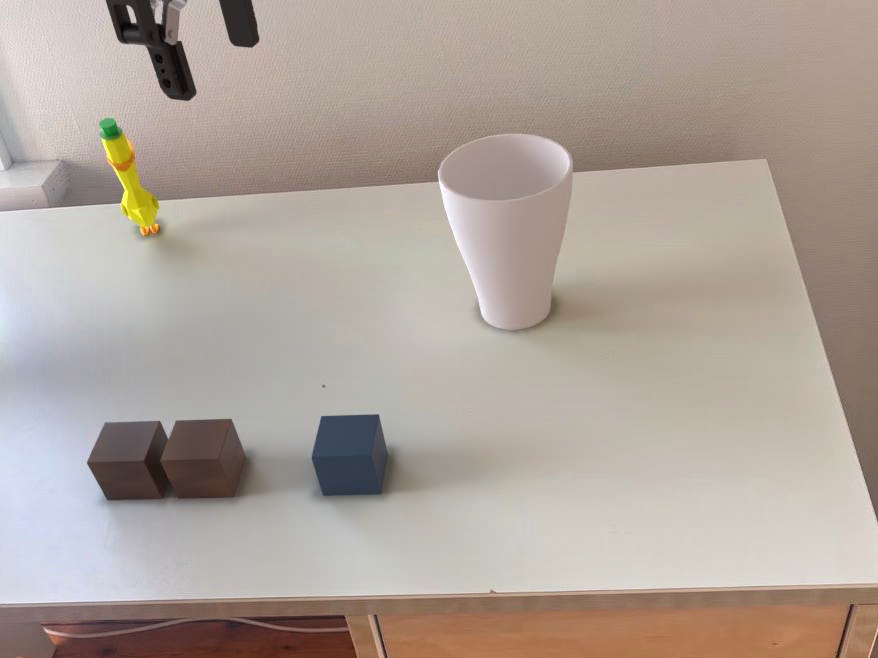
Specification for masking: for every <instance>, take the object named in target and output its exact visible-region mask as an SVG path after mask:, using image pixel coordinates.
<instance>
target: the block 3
mask: <svg viewBox="0 0 878 658" xmlns="http://www.w3.org/2000/svg"><path fill="white" fill-rule="evenodd" d="M388 455H389V453H388V448H387V443H386V439H385V435H384V430H383V426H382V422H381V418H380V414H379V413H375V414H373V413H371V414H342V415H341V414H340V415H321V416H320V418H319V423H318V426H317V431H316V434H315V440H314V443H313V447H312V451H311V456H310V459H311V462H312V466H313V468H314V471H315V474H316V478H317V481H318V485H319V487H320V491H321V494H322V496H323V497H325V496H326V497H328V496H333V497H334V496H375V495H377V496H378V495H379V496H380V495H381V494H382V491H383V484H384V478H385V473H386V468H387V467H386V466H387V460H388Z"/></svg>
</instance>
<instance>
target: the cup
mask: <svg viewBox="0 0 878 658" xmlns="http://www.w3.org/2000/svg"><path fill="white" fill-rule="evenodd" d="M572 157H573V156H572V154H571V153H570V152H569V150H567V149H566V148H565V146H564V145H563V144H561V143H558V142H557V141H555V140H554V139H550V138H547V137H544V136H541V135H535V134H529V133H528V134H527V133H502V134H494V135H489V136H485V137H481V138H476V139H473V140H472V141H470V142H467V143H464V144H462V145H460V146H459V147H457V148H455V149H454V150H452V151H451V152H449V154H448V155H447V156H445V158H443V160H442V161H441V163H440V166H439V168H438V171H437V177H438V183H439V188H440V192H441V198H442V202H443V207H444V211H445V214H446V216H447V219H448V222H449V226H450V228H451V231H452V234H453V237H454V241H455V243H456V245H457V248H458V250H459V253H460V254H461V257H462V259H463V261H464V263H465V265H466V268H467V270H468V271H467V272H469V276H470V279H471V281H472V284H473V287H474V289H475V292H476V295H477V301H478V304H479V305H478V306H479V310H480V314H481V316H482V318H483V320H484V321H485V322H486V323H488V325H490V326H493V327H495V328H497V329H501V330H507V331H511V330H512V331H515V330H516V331H517V330H524V329H528V328H531V327H534V326H536V325H538V324H540V323H542V322H543V321H544V320H545V319H546V318H547V316H548V315H549V314H550V312H551V311H550V310H551V307H552V294H553V283H554V279H555V278H554V277H555V272H556V267H557V262H558V258H559V254H560V252H561V247H562V244H563V239H564V236H565V231H566V228H567V227H566V226H567V222H568V215H569V209H570V204H571V200H572V199H571V198H572V193H573V177H574V176H573V175H574V161H573V158H572Z"/></svg>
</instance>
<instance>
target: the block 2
mask: <svg viewBox="0 0 878 658" xmlns="http://www.w3.org/2000/svg"><path fill="white" fill-rule="evenodd" d="M246 460H247V455H246V452H245V450H244V447H243V444H242V442H241V438H240V437H239V433H238V432H237V429H236V425H235V424H234V421H233V419H232V418H209V419H208V418H207V419H205V418H204V419H178V420H177V419H176V420H175V422H174V424H173V427H172V429H171V431H170V434H169V437H168V442H167V445H166V447H165V450H164V452H163V455H162V458H161V460H160V462H161V464H162V466H163V468H164V470H165V472H166V474H167V476H168V478H169V482H170V485H171V487H172V489H173V491H174V494H175V496H176V497H177V499H179V500H182V499H183V500H187V499H229V498H235V496H236V493H237V489H238V486H239V482H240V480H241V476H242V474H243V470H244V466H245V463H246Z"/></svg>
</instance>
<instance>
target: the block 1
mask: <svg viewBox="0 0 878 658" xmlns="http://www.w3.org/2000/svg"><path fill="white" fill-rule="evenodd" d="M168 439H169V437H168V435H167V433H166V430H165V428H164V426H163V424H162V422H161V421H160V420H138V421H134V420H133V421H106V422H104V423H103V425H102V427H101V430H100V432H99V434H98V437H97V438H96V441H95V443H94V445H93V448H92V450H91V452H90V454H89V456H88V458H87V461H86V465H87V466H88V468H89V470H90V472H91V473H92V476H93V478H94V479H95V481H96V483H97V484H98V486H99V488H100V490H101V491H102V493H103V495H104V497H105V499H106V500H107V501H134V500H136V501H139V500H163V499H164V496H165V493H166V491H167V488H168V485H169V482H170V481H169V478H168V476H167V474H166V472H165V470H164V468H163V466H162V464H161V462H160V460H161V458H162V455H163V452H164V450H165V447H166V445H167V442H168Z"/></svg>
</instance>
